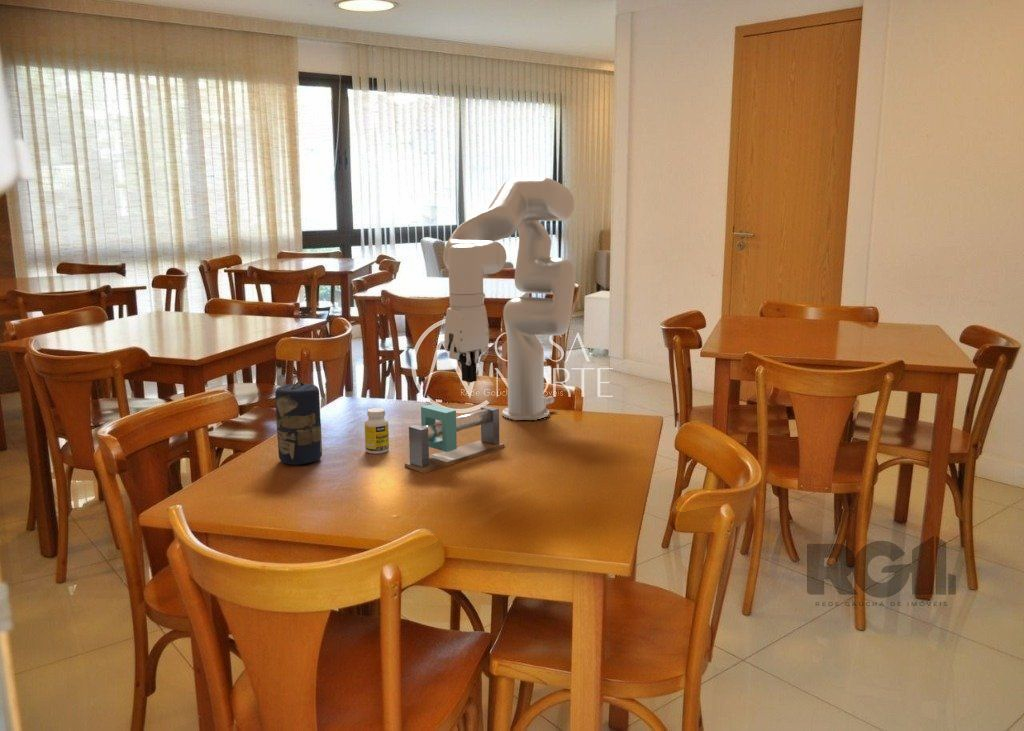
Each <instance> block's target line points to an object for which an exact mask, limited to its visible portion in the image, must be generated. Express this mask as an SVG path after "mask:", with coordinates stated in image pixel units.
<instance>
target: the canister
mask: <svg viewBox="0 0 1024 731" xmlns="http://www.w3.org/2000/svg"><path fill="white" fill-rule="evenodd" d="M274 393H275V395H274V396H275V416H276V418H275V420H276V434H277V435H276V437H277V447H278V448H277V450H278V451H277V452H278V458H279V460H280V462H282V463H285V464H287V465H306V464H311V463H314V462H317V461H318V460H320V459H321V458H322V456H323V440H322V439H323V436H322V423H321V422H322V421H321V406H320V405H321V402H320V401H321V400H320V389H319V387H318V386H317V385H316V384H311V383H304V382H301V381H297V382H295V383H288V384H285V385H284V384H283V385H281V386H278V387H277V388H276V389H275V392H274Z"/></svg>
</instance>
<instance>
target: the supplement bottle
mask: <svg viewBox="0 0 1024 731" xmlns="http://www.w3.org/2000/svg"><path fill="white" fill-rule="evenodd" d="M366 411H367V413H366V414H367V418H366V419H365V420H364V445H365V446H364V447H365V451H366V453H368V454H374V455H379V454H385V453H387V452H388V451H389V449H390V440H389V439H390V437H389V420H388V419H387V418H386V417H385V416H386V409H385V408H382V407H373V408H369V409H367V410H366Z"/></svg>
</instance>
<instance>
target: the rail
mask: <svg viewBox="0 0 1024 731" xmlns="http://www.w3.org/2000/svg"><path fill="white" fill-rule="evenodd" d="M435 422H436V421H435ZM478 426H480V440H481V442H483V443H487V444H491V445H496V444H499V442H500V409H499V408H498V407H493V406H489V405H484V406H480V410H478V411H474V412H473V411H472V412H470V413H466V414H462V415H459V416H456V433H457V432H460V431H463V430H467V429H471V428H475V427H478ZM440 437H442V421H440V420H439V421H437V422H436V423H433V424H429V425H425V426H422V425H419V424H414V425H410V426H408V442H409V443H408V444H409V448H408V449H409V462H410V464H412V465H415V466H418V467H421V468H424V467H427V466H429V456H430V452H429V451H430V447H429V440H430V439H433V438H440Z"/></svg>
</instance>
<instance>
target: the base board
mask: <svg viewBox="0 0 1024 731" xmlns="http://www.w3.org/2000/svg"><path fill="white" fill-rule="evenodd" d="M503 448H506V447H505V443H502V442H500V441H499V444H496V445H491V444H487V443H483V442H481V439H480V440H476V441H474V442H469V443H466V444H464V445H461V446H457V449H455V450H452V451H448V452H445V451H441V452H438V453H436V452H435V453H433V454H431V455H430V454H429V466H427V467H424V468H421V467H418V466H415V465H412V464H410V461H408V462H407V461H406V462H404V467H405V468H407V469H409V470H414V471H417V472H419V473H422V474H427V473H429V472H432V471H435V470H438V469H441V468H445V467H447V466H451V465H454V464H457V463H461V462H463V461H466V460H469V459H474V458H475V457H479V456H482V455H485V454H487V453H490V452H495V451H497V450H499V449H503Z"/></svg>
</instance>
